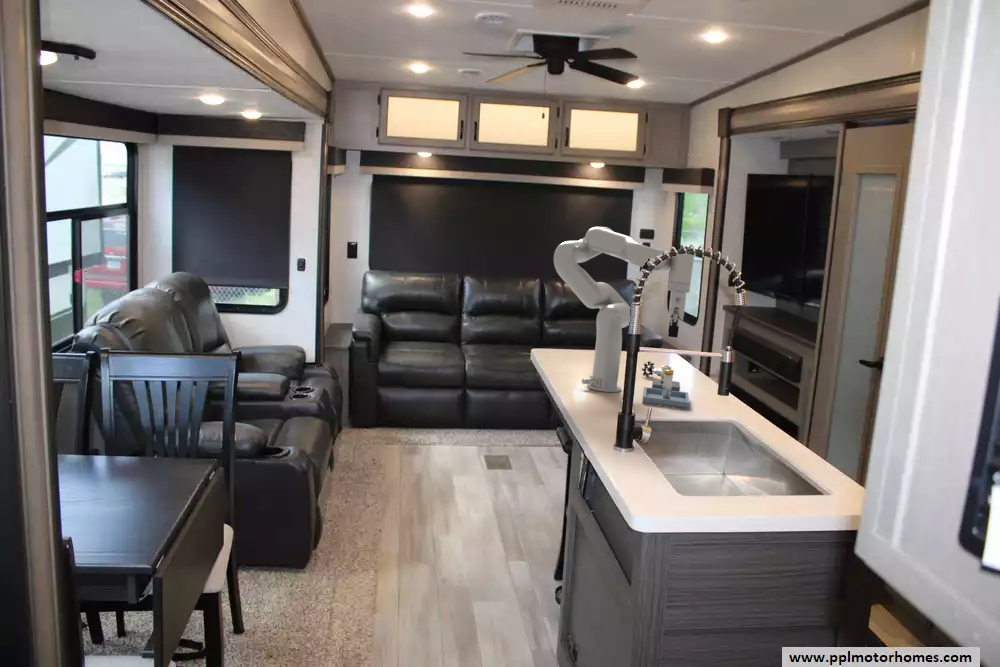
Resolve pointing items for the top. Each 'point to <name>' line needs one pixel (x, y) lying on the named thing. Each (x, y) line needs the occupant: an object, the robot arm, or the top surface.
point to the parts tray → (655, 398)
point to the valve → (654, 370)
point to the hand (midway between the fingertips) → (672, 334)
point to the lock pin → (667, 384)
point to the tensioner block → (659, 385)
